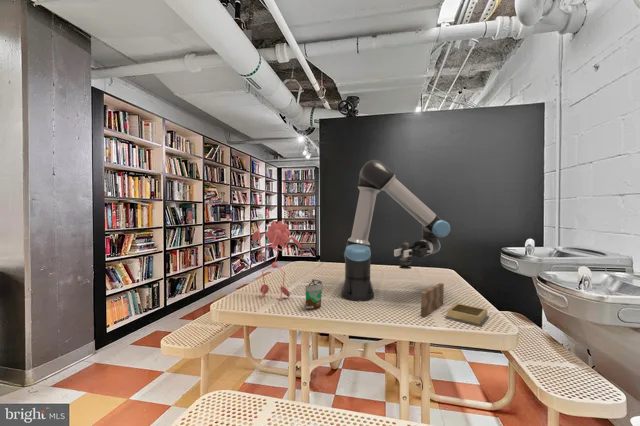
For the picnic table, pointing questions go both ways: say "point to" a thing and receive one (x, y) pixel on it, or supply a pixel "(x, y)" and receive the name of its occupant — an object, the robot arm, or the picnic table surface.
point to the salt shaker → (407, 260)
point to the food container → (314, 294)
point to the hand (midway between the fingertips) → (399, 253)
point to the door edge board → (432, 299)
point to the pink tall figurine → (276, 237)
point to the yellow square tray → (467, 314)
